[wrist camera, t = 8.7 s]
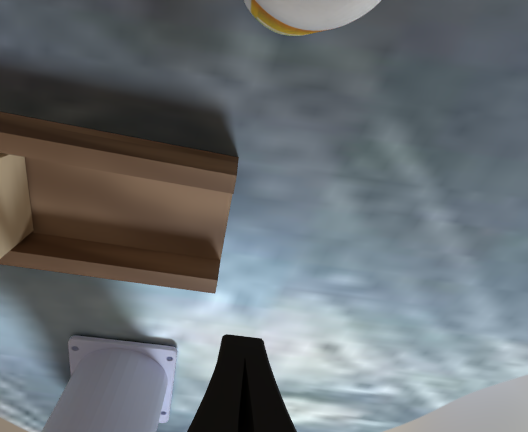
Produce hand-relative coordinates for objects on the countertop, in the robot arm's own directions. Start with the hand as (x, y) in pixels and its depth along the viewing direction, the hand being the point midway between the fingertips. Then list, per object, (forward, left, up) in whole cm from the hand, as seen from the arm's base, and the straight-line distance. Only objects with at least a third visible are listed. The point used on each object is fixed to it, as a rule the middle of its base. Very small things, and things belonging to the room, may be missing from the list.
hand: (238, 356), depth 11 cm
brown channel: (0, +10, -10) cm, 14 cm away
